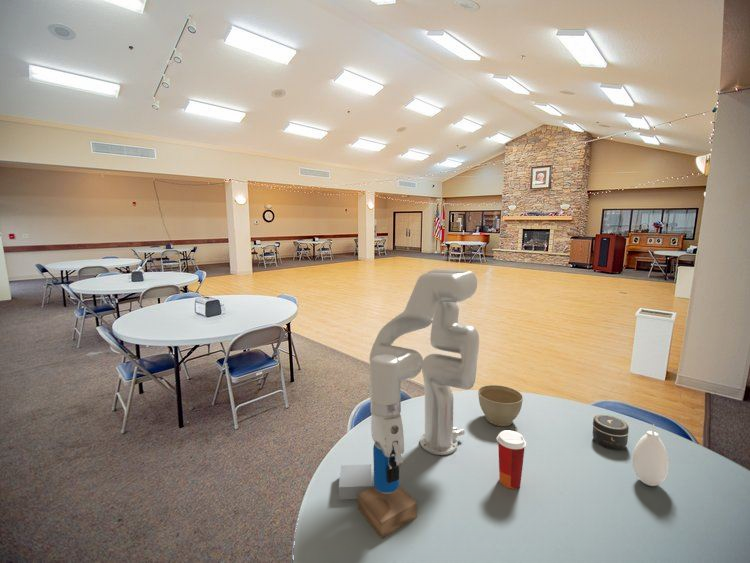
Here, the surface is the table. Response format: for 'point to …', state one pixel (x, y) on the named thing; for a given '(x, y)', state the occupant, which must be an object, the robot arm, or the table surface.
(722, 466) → the table surface
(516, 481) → the paper cup
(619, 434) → the jar
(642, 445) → the white egg shaped candle
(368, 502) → the walnut block
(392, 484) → the beverage can
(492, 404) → the planter bowl
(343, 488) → the grey square block
